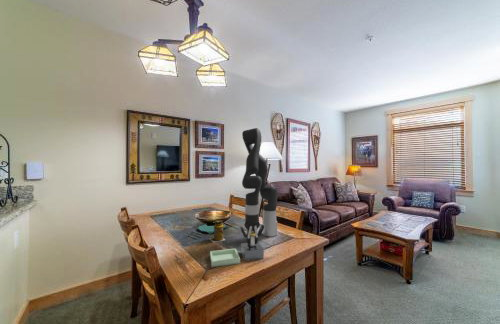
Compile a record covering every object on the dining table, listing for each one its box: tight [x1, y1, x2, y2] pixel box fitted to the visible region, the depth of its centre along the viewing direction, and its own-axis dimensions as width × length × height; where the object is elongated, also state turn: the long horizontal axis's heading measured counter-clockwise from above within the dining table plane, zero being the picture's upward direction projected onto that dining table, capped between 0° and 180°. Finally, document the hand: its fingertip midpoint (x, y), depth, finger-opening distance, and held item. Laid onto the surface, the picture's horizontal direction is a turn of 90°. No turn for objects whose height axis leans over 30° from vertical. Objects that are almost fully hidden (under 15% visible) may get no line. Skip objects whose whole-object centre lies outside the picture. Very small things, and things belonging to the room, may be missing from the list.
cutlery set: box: [184, 223, 226, 240], centre depth 150 cm, size 20×30×2 cm, turn 141°
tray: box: [209, 248, 241, 268], centre depth 107 cm, size 14×12×2 cm
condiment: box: [209, 219, 226, 244], centre depth 134 cm, size 7×8×12 cm
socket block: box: [240, 241, 265, 262], centre depth 112 cm, size 10×10×5 cm
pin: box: [249, 231, 256, 248], centre depth 112 cm, size 4×4×12 cm
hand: (252, 244), depth 112 cm, fingers closed on pin, 3 cm apart
